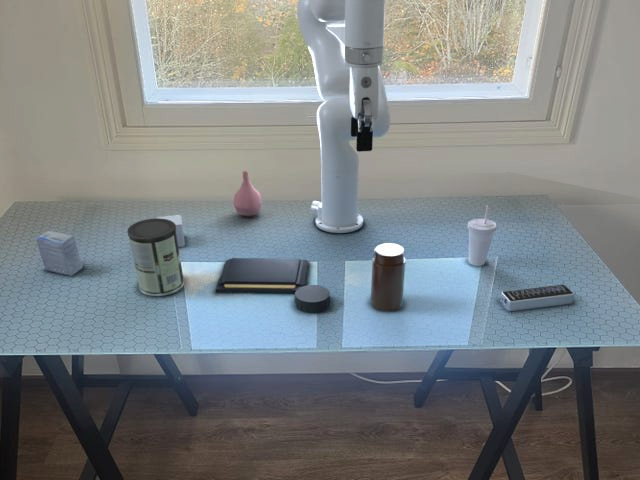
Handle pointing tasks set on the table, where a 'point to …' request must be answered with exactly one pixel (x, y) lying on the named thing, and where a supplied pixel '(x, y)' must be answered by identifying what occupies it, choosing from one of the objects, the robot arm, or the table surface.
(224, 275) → the wallet
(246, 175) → the pink teardrop shaped piece
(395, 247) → the jar
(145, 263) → the coffee can
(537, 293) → the multiport hub
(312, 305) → the lid
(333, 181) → the robot arm
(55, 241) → the medicine box
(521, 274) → the table surface
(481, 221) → the smoothie
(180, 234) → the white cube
